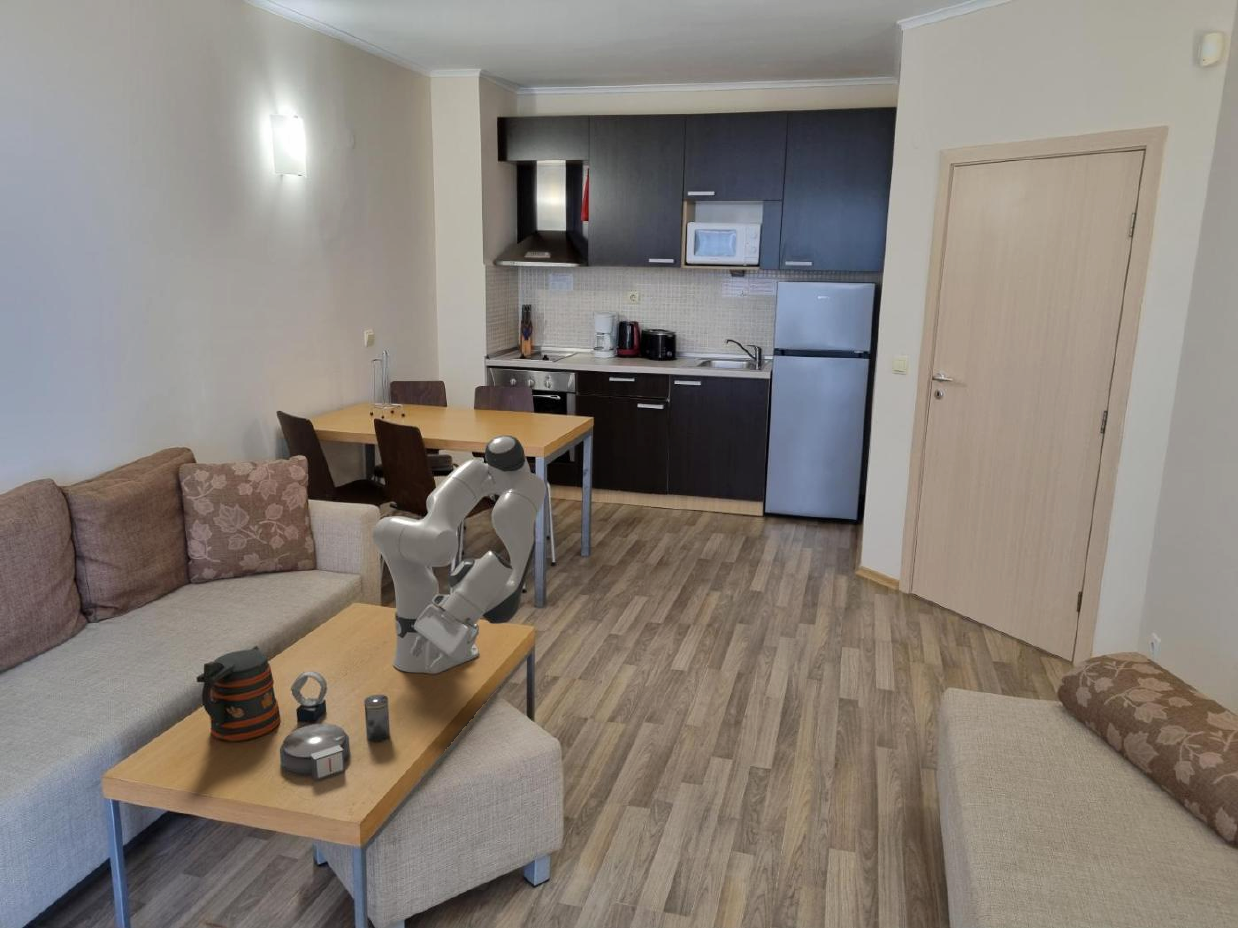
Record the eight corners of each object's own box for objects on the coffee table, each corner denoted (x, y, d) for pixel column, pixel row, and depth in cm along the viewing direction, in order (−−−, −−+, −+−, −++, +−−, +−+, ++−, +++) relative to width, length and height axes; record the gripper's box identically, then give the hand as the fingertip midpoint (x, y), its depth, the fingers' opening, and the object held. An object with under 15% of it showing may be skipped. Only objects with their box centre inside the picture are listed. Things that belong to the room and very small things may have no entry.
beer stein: (245, 756, 188) (236, 670, 183) (184, 749, 190) (174, 665, 186) (292, 713, 206) (286, 634, 202) (236, 707, 209) (228, 629, 204)
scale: (336, 733, 197) (335, 713, 196) (364, 765, 185) (362, 744, 183) (272, 753, 189) (270, 732, 188) (296, 788, 176) (294, 766, 175)
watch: (301, 709, 208) (298, 666, 206) (333, 712, 207) (330, 669, 204) (289, 720, 203) (285, 677, 200) (321, 723, 201) (318, 680, 199)
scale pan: (333, 721, 196) (333, 717, 195) (354, 745, 186) (354, 741, 186) (275, 738, 188) (275, 735, 188) (294, 764, 178) (293, 761, 178)
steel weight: (384, 728, 199) (382, 692, 197) (393, 737, 196) (391, 701, 194) (363, 735, 196) (360, 698, 194) (371, 745, 192) (369, 707, 191)
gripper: (491, 634, 196) (451, 686, 193) (449, 606, 212) (412, 653, 209) (473, 620, 193) (432, 672, 189) (432, 592, 209) (394, 639, 205)
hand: (421, 661), depth 199 cm, fingers open, 8 cm apart
